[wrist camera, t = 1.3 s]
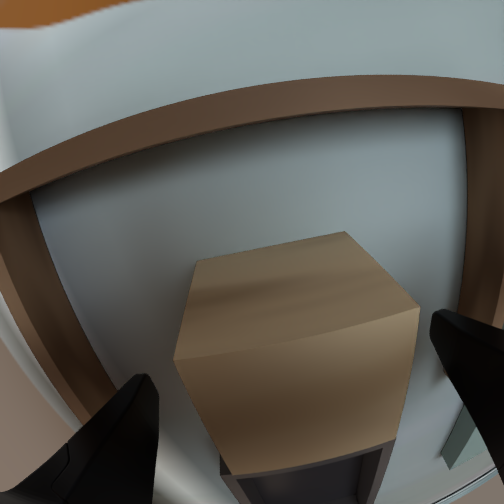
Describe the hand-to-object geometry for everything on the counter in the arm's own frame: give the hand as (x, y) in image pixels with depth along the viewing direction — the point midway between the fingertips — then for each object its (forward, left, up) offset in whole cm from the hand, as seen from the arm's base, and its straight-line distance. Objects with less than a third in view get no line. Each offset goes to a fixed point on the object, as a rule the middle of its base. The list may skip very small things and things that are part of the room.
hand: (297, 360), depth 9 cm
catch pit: (-13, 0, -3) cm, 14 cm away
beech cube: (0, 0, -3) cm, 3 cm away
